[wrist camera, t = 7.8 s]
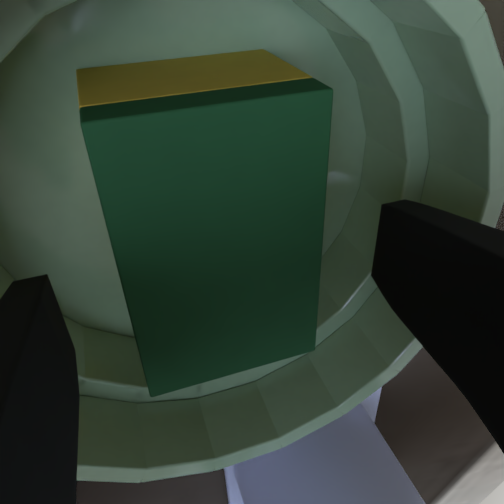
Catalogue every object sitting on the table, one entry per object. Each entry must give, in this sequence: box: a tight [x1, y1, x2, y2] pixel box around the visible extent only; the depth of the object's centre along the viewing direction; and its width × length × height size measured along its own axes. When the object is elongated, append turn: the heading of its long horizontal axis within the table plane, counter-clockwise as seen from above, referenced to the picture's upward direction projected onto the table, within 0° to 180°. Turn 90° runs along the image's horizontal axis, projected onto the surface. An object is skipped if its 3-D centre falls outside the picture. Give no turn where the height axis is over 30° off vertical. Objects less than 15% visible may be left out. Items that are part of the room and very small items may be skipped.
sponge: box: [76, 49, 333, 397], centre depth 11 cm, size 7×4×4 cm, turn 2°
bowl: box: [0, 0, 504, 483], centre depth 11 cm, size 13×13×5 cm
